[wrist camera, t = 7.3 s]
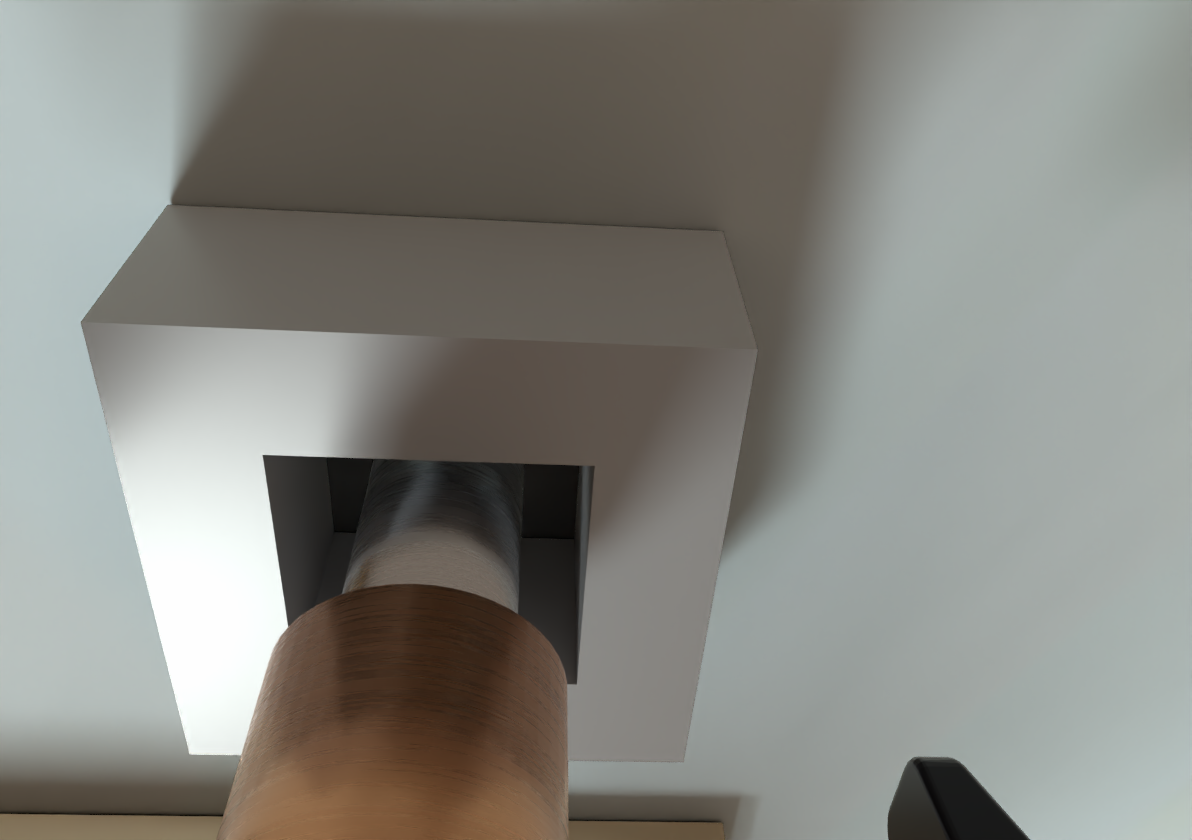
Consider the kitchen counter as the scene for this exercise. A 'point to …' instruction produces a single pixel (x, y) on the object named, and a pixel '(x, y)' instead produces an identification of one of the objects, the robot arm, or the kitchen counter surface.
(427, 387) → the awl holder
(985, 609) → the kitchen counter surface
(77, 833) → the subfloor panel
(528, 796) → the awl
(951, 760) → the robot arm
